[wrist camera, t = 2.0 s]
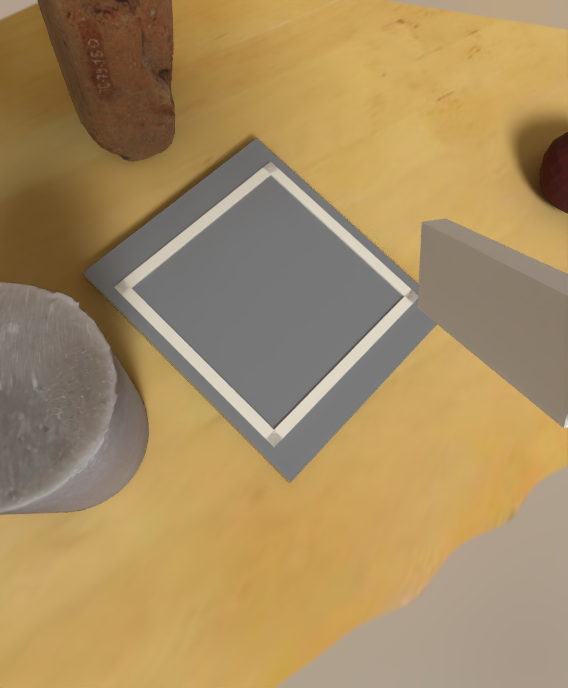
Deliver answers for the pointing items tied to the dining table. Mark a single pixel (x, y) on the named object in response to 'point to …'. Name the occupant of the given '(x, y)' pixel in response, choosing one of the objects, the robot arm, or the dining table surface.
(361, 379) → the slate tile
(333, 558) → the dining table surface
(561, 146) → the potato
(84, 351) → the pillar candle
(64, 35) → the block
